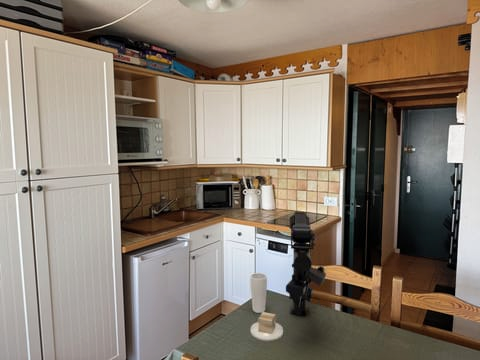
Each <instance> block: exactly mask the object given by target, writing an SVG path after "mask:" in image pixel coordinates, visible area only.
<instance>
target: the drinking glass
mask: <svg viewBox="0 0 480 360" xmlns="http://www.w3.org/2000/svg"><path fill="white" fill-rule="evenodd" d="M249 282H250V293H251V305H252V312H254V313H257V314H262V312H266V300H267V289H268V278H267V274H265V273H262V272H255V273H251V274H250V281H249Z"/></svg>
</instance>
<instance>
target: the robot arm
mask: <svg viewBox="0 0 480 360" xmlns="http://www.w3.org/2000/svg"><path fill="white" fill-rule="evenodd" d="M289 229H290V249H291V250H293V263H292V264H291V267H292V269H293V274H292V275H291V280H290V281H288V283H287V284H286V285H285V292H286V293H287V294H288V295H289V300H292V308H291V309H290V312H289V314H291V315H297V316H303V317H307V314H308V313H309V307H308V306H307V305H308V303H307V302H308V301H311V299H312V296H313V295H312V294H313V288H312V287H311V285H310V284H311V282H313V283H314V284H316V285H317V286H322V285H323V282H324V281H325V278H326V276H327V273H326V272H325V267H324V266H322V265H320V266H319V267H313V266H312V265H313V264H312V258H311V254H310V253H311V252H310V251H311V250H314V247H315V244H316V241H315V232H314V230H313V229H311V225H310V216H308V215H307V212H305V211H294V212H293V214H292V215H291V216H289Z"/></svg>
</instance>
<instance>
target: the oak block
mask: <svg viewBox="0 0 480 360" xmlns="http://www.w3.org/2000/svg"><path fill="white" fill-rule="evenodd" d="M257 320H258V321H257V322H258V331H259V332H264V333H268V334H272V332H273V331H274V329H275V322H276V314H275V313H269V312H266V311H264V312H262V313H260V315H259V317H258V318H257Z"/></svg>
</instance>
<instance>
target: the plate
mask: <svg viewBox="0 0 480 360" xmlns="http://www.w3.org/2000/svg"><path fill="white" fill-rule="evenodd" d="M250 334H251V336H252V337H253V338H254V339H256V340H259V341H260V342H261V341H262V342H274V341H277V340H279V339H281V338H282V337H283V335H284V327H283V326H282V325H281V324H280V323H277V322H276V321H275V329H274V331H273V332H272V334H268V333H264V332H259V331H258V321H257V322H255V323H253V324H251V327H250Z"/></svg>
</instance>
